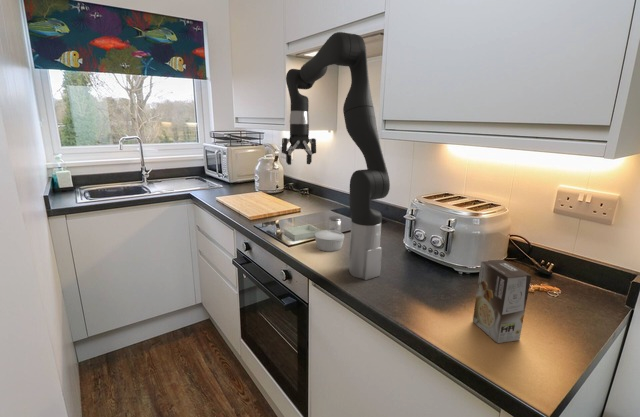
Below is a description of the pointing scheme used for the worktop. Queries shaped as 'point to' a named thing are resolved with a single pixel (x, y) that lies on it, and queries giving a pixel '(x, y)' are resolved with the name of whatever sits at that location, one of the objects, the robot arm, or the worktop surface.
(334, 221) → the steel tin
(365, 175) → the robot arm
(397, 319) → the worktop surface
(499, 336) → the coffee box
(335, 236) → the ramekin
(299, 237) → the tray
